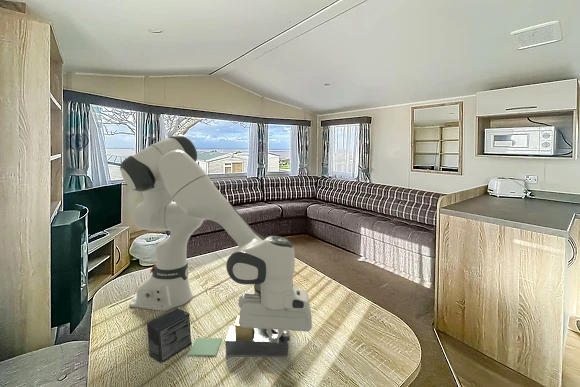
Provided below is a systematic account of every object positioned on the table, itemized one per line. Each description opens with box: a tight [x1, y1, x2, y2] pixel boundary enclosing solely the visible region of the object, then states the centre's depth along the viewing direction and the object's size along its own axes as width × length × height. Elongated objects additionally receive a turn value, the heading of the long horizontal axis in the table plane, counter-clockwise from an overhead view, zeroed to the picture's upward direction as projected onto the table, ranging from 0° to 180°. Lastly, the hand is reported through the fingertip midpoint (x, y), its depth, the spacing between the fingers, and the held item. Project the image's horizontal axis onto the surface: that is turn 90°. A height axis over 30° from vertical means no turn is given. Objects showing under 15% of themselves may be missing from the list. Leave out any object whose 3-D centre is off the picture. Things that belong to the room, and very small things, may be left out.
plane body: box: [225, 326, 290, 359], centre depth 94 cm, size 18×7×5 cm, turn 89°
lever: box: [271, 329, 291, 343], centre depth 90 cm, size 2×8×3 cm, turn 41°
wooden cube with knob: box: [234, 315, 254, 338], centre depth 94 cm, size 5×5×5 cm
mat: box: [187, 337, 223, 357], centre depth 95 cm, size 8×8×1 cm
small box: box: [146, 307, 193, 364], centre depth 93 cm, size 11×6×10 cm, turn 145°
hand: (274, 341), depth 88 cm, fingers closed
